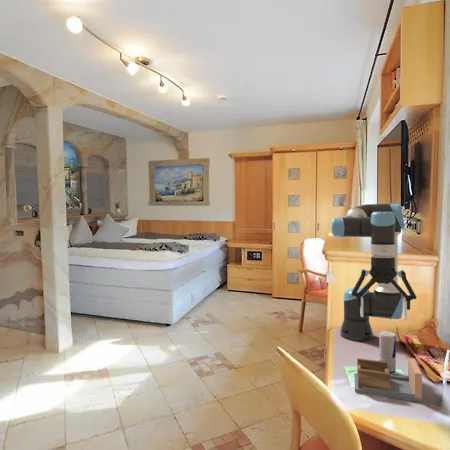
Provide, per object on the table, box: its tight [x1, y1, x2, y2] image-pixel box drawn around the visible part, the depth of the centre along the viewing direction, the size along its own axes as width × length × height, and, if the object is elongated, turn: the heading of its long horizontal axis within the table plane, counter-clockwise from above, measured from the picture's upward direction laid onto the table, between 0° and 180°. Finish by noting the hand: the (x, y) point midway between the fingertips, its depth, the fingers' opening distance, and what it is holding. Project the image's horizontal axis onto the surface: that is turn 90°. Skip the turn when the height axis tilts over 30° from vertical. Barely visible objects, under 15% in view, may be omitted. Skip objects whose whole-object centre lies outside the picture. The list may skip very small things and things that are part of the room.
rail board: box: [353, 357, 423, 403], centre depth 118 cm, size 12×20×9 cm, turn 70°
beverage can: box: [378, 330, 397, 375], centre depth 129 cm, size 6×6×15 cm
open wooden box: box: [356, 358, 390, 390], centre depth 119 cm, size 10×10×6 cm
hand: (382, 317), depth 118 cm, fingers open, 13 cm apart
